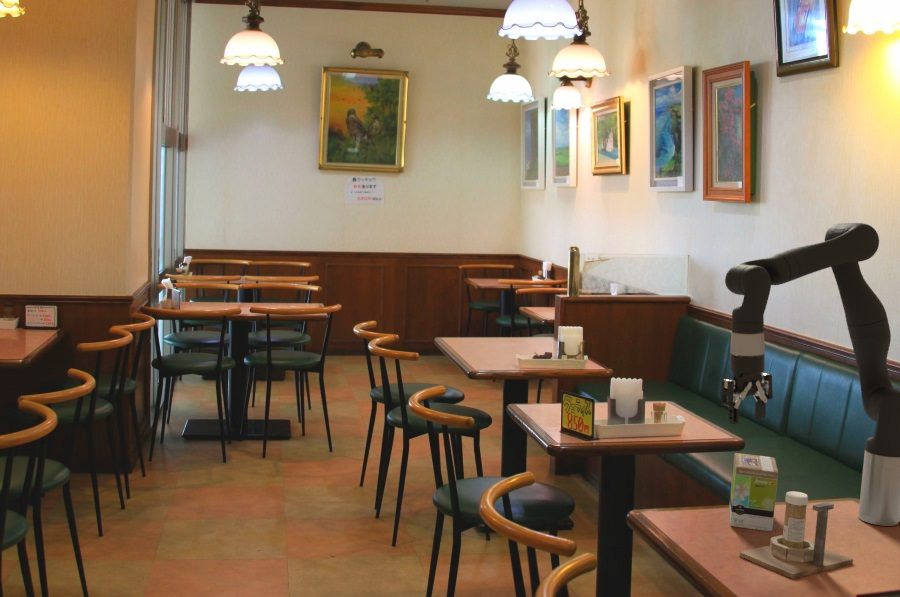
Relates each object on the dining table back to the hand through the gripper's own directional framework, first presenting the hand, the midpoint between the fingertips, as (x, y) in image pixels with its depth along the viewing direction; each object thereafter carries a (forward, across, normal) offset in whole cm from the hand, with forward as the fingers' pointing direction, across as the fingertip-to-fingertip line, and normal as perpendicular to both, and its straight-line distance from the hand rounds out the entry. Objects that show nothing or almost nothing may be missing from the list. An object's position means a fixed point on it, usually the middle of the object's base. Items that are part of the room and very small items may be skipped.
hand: (747, 420), depth 233 cm
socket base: (+27, +4, +18) cm, 32 cm away
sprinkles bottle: (+26, +4, +17) cm, 31 cm away
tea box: (+27, -8, -6) cm, 29 cm away
